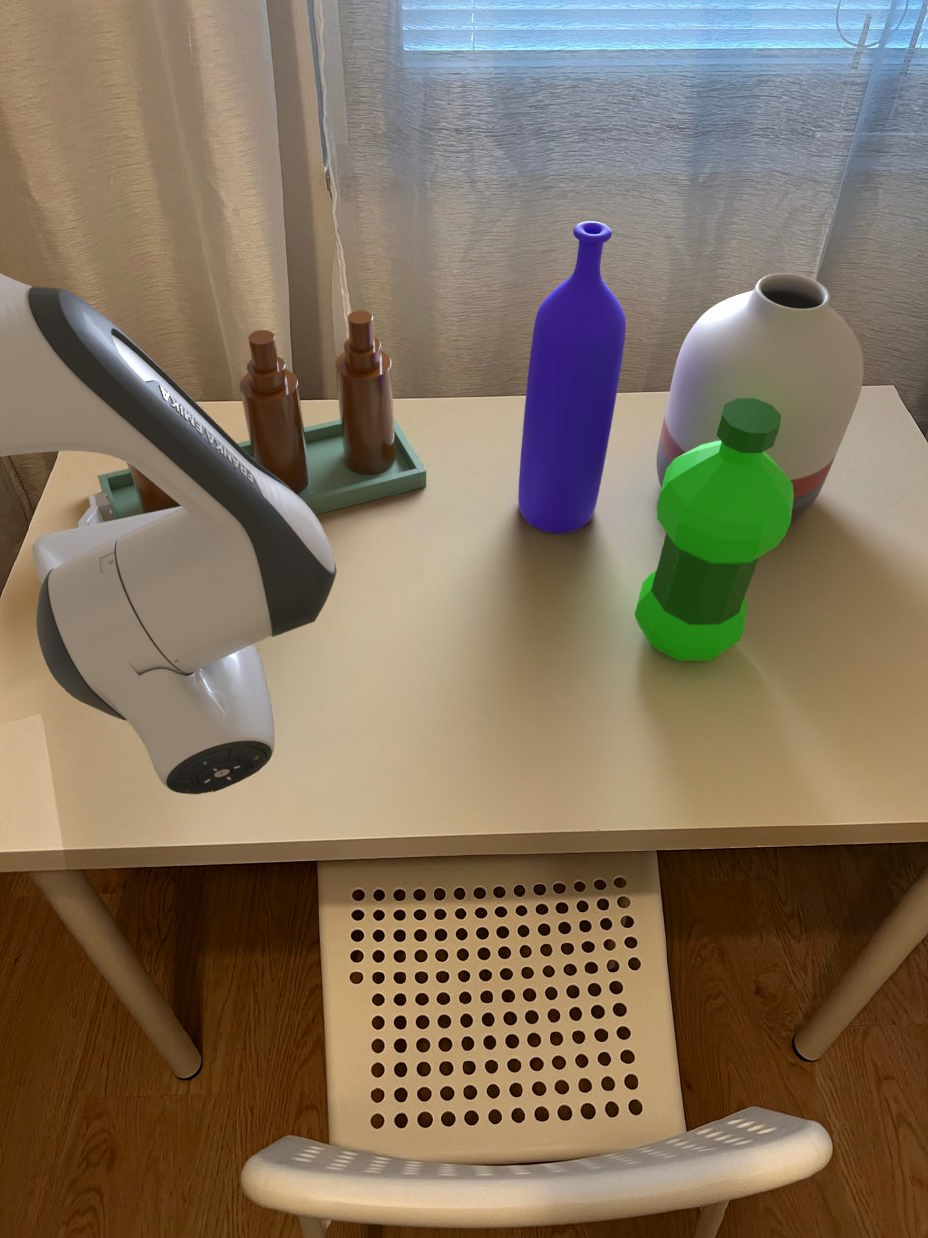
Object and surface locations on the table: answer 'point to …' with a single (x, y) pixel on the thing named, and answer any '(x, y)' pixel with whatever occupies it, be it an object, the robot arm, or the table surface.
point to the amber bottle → (150, 493)
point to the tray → (327, 475)
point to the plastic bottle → (715, 534)
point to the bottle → (571, 393)
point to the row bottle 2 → (365, 399)
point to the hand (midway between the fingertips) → (157, 488)
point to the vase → (769, 378)
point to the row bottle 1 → (274, 413)
